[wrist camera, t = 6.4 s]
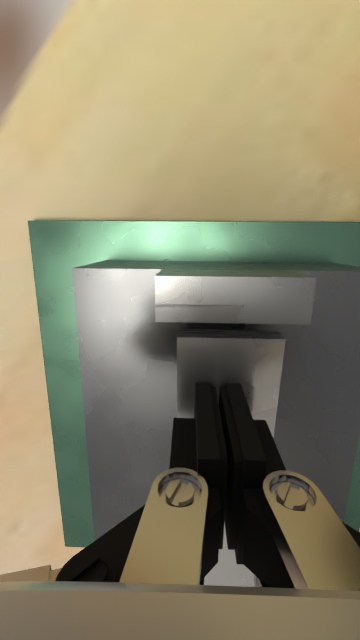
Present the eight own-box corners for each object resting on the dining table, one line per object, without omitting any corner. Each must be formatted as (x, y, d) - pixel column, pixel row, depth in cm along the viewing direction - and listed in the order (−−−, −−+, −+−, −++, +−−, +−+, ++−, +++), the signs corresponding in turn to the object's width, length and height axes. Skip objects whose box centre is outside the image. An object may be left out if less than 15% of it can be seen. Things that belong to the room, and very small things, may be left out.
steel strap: (278, 330, 11) (286, 340, 10) (247, 595, 16) (251, 619, 15) (178, 327, 11) (176, 338, 10) (177, 591, 16) (176, 615, 15)
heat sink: (411, 223, 16) (594, 210, 9) (348, 551, 22) (427, 709, 14) (33, 221, 17) (-90, 207, 9) (68, 538, 22) (8, 682, 15)
